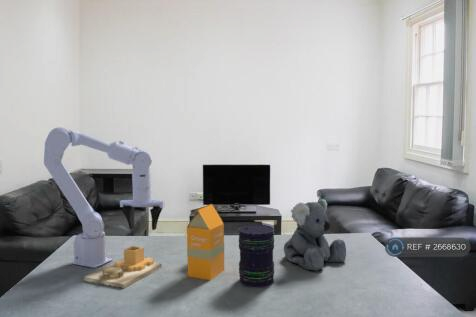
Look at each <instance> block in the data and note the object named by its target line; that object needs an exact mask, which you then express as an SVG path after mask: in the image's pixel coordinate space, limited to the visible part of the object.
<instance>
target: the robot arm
mask: <svg viewBox="0 0 476 317" xmlns="http://www.w3.org/2000/svg"><path fill="white" fill-rule="evenodd" d="M70 143H71V147H76V146H84V147H87V148H91V149H94V150H97V151H100V152H103V153H106V154H107V157H108V158H109V159H111V160H113V161H116V162H119V163H122V164H124V165H128V166H129V165H132V174H131V178H132V179H131V180H132V199H122V200H120V201H119V207H120V208H122V209H121V212H122V214H123V215H124V217H125V218H126V221H127V224H128V228H129V230H133V229H134V228H135V209H136V208H150V209H149V210H150V211H149V213H150V216H151V218H150V219H151V231H155V230H156V229H157V227H158V226H157V225H158V221H159V218H160V214H161V213H162V211H163V208H165V206H166V204H165V200H156V199H152V191H151V188H152V186H151V185H152V184H151V173H150V172H151V169H150V167H151V165H152V159H151V156H150V154H149V153H148V152H147V151H144V150H142V149H139V147H137V146H134V147H133V146H130V145H127V144H125V142H124V141H122V140H119V142H118V141H113V142H110V143H109V142H108V141H104V140H102V139H99V138H97V137H94V136H92V135H89V134H86V133H84V132H82V131H77V130H72V129H68V130H67V129H66V128H64V127H58V126H57V127H55V128H53V129H51V130H50V131H49V133H48V134H47V137H46V139H45V141H44V154H43V155H44V156H43V164H44V167H45V168H46V169H47V171H48V172H49V174H50V175H51V177H52V179H53V180H54V182H55V183H56V184H57V186H58V188H59V189H60V191H61V192H62V194H63V196H64V197H65V199H66V200H67V201H68V203H69V204H70V206H71V208H73V211H74V212H75V214H76V216H77V217H78V218H77V219H78V220H79V221H80V223H81V225H82V226H81V227H82V231H83V232H82V233H79V234H77V235H76V237H75V238H74V241H73V257H74V259H73V260H74V261H73V262H72V265H77V266H83V267H88V268H94V269H96V268H98V267H100V266H103V265H105V264H107V263H109V262H111V261H113V258H110V257H107V248H106V247H107V246H106V232H105V231H104V230H105V223H104V221H103V218H102V215H101V214H100V213H99V212H97V211H95V210H94V208H93V207H92V205H90V203H89V202H88V201H87V199H86V197H85V195H84V194H83V192H82V190H80V188H79V187H78V184H77V183H76V182H75V180H74V178H73V176H71V174H70V173H69V170H68V169H67V168H66V166H65V164H64V163H63V161H62V159H63V156H64V153H65V151H66V150H67V148H68V147H69V146H70Z"/></svg>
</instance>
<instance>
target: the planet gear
mask: <svg viewBox="0 0 476 317" xmlns="http://www.w3.org/2000/svg"><path fill="white" fill-rule="evenodd" d="M123 258H124V260H122V261H119V260H117V262H116V261H115V267H122V268H124V269H128V271H134V270H136V271H138V270H143V269H145V266H147V265H152V264H154V262H155V261H154V258H153V257H149V256H146V257H145V247H142V246H136V245H132V246H129V247H126V248H125V249H123Z"/></svg>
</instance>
